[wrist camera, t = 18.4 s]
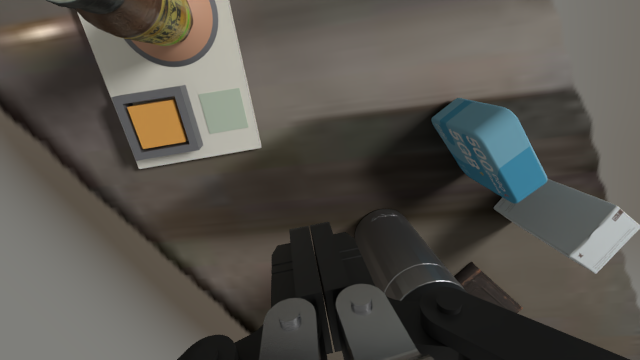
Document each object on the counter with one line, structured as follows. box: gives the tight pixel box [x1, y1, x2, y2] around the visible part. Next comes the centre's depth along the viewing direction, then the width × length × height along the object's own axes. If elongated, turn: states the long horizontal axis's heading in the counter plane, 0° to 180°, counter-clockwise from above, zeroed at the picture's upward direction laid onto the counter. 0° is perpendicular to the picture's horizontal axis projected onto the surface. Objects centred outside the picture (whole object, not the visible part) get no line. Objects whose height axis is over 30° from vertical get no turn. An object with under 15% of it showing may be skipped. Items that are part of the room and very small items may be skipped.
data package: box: [431, 98, 547, 204], centre depth 40 cm, size 12×4×12 cm, turn 39°
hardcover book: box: [455, 262, 522, 313], centre depth 60 cm, size 16×23×2 cm
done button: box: [127, 98, 188, 149], centre depth 37 cm, size 5×5×2 cm
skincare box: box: [494, 179, 640, 274], centre depth 45 cm, size 8×6×15 cm
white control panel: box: [77, 0, 261, 169], centre depth 35 cm, size 24×16×4 cm, turn 8°
